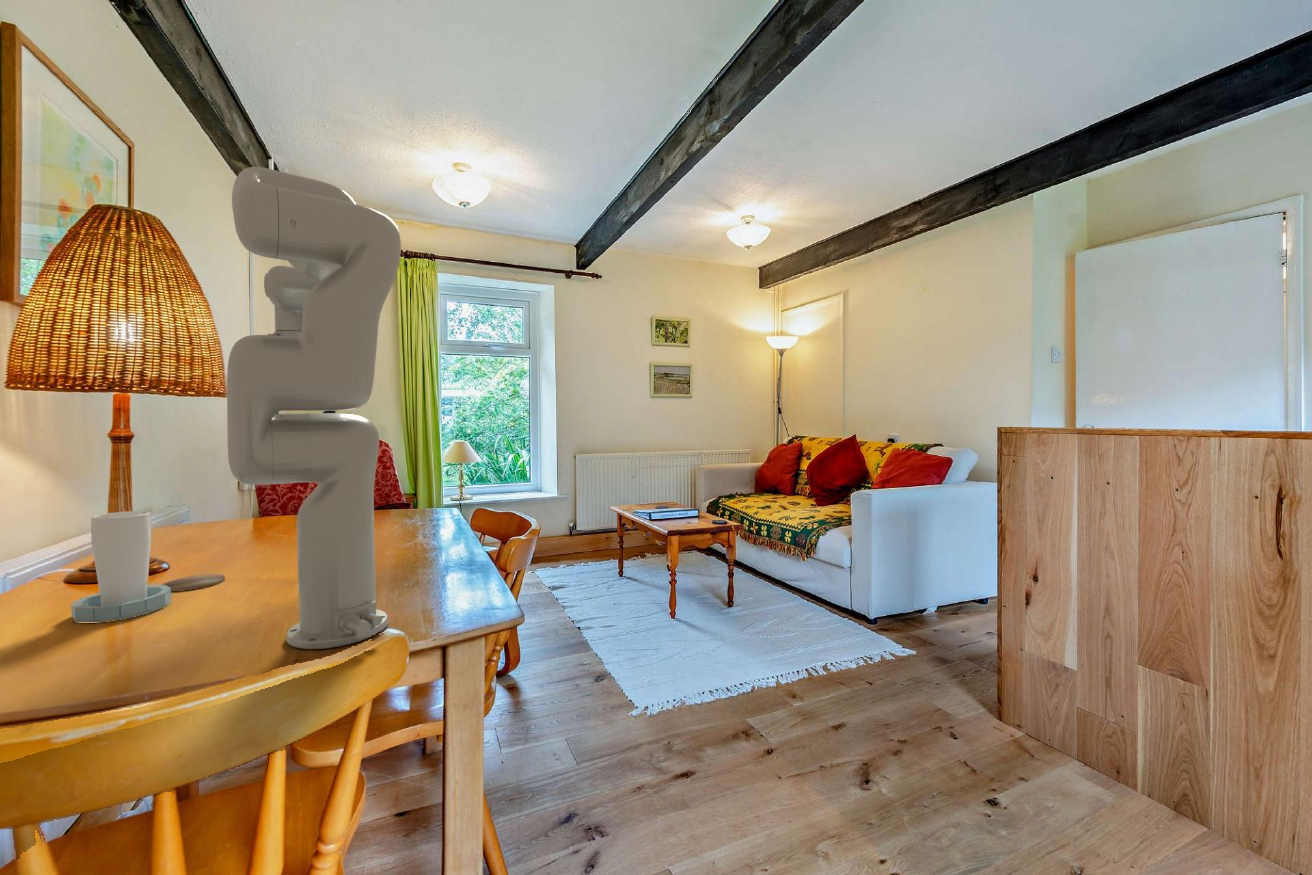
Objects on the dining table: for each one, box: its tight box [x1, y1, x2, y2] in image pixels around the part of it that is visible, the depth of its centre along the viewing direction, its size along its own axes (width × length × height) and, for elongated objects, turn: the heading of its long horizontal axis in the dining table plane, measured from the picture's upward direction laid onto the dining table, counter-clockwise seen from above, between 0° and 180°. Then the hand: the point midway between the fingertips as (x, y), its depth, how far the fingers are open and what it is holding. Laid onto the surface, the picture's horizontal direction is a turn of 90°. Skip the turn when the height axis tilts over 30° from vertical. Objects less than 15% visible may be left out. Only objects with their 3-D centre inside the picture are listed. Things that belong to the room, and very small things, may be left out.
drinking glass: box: [90, 510, 152, 606], centre depth 85 cm, size 7×7×15 cm
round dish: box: [70, 584, 172, 622], centre depth 85 cm, size 11×11×2 cm
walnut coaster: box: [161, 573, 226, 592], centre depth 99 cm, size 9×9×1 cm
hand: (302, 431), depth 103 cm, fingers open, 9 cm apart
